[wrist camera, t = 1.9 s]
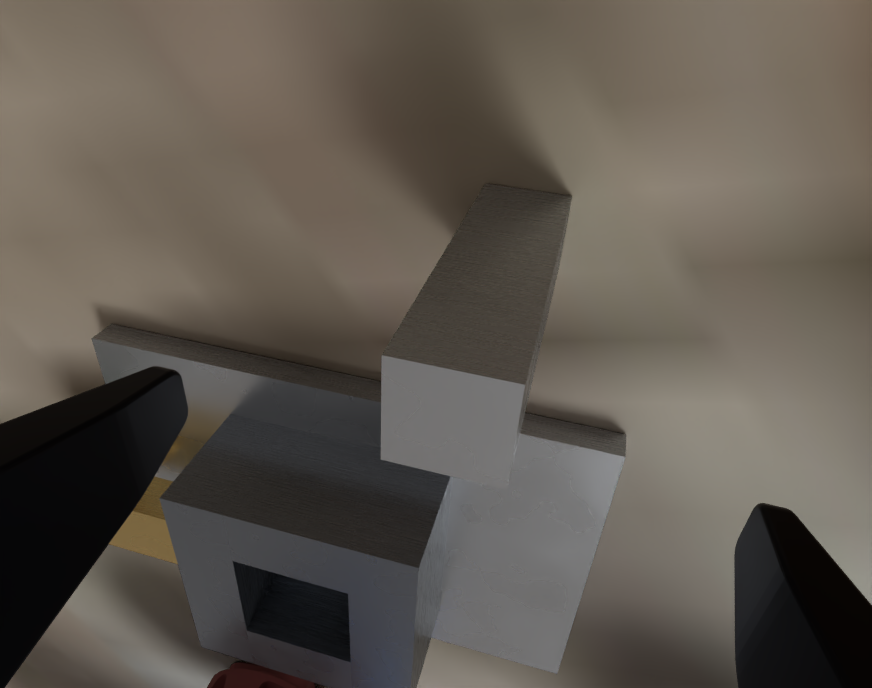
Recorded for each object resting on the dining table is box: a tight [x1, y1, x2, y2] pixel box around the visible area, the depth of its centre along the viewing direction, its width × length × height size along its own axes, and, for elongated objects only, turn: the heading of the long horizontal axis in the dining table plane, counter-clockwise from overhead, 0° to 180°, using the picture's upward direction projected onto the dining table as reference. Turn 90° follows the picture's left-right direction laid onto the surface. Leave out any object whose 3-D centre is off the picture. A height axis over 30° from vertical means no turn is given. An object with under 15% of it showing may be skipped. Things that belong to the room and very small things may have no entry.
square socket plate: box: [91, 324, 626, 688], centre depth 22 cm, size 19×12×5 cm, turn 87°
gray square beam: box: [381, 183, 572, 490], centre depth 13 cm, size 2×2×8 cm
